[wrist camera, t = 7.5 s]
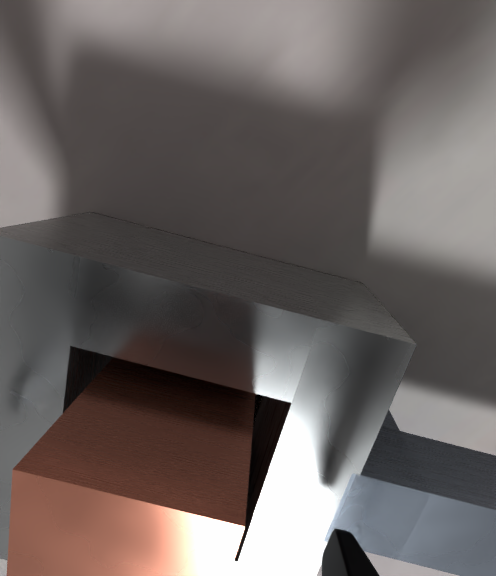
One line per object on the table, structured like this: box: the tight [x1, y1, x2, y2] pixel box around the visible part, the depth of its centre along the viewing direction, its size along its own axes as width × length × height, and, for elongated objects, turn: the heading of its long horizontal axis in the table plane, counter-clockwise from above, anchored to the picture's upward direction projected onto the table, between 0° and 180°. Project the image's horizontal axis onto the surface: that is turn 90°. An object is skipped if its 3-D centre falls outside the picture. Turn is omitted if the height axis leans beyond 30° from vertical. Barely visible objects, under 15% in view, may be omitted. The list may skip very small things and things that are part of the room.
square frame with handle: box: [0, 212, 496, 576], centre depth 12 cm, size 20×10×5 cm, turn 76°
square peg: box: [7, 357, 255, 576], centre depth 10 cm, size 4×4×8 cm
